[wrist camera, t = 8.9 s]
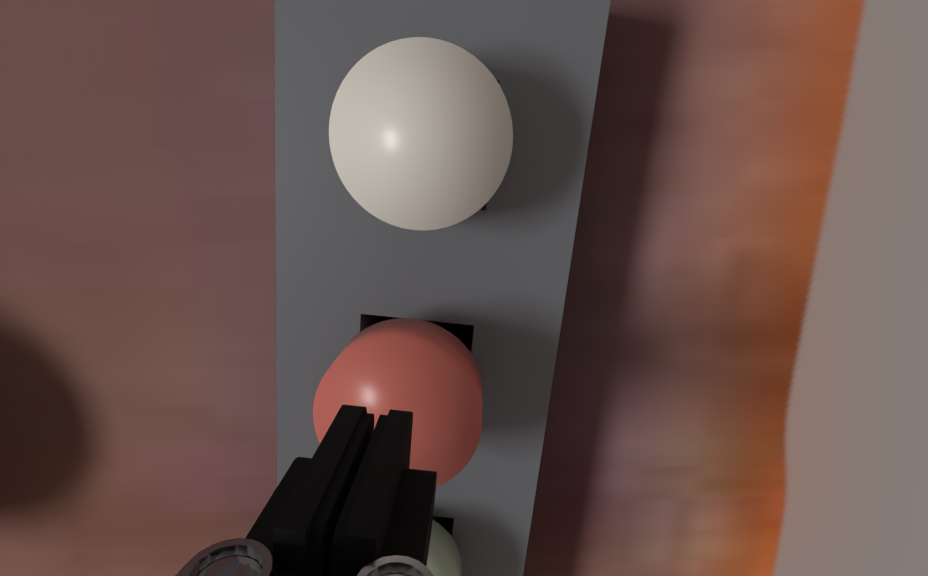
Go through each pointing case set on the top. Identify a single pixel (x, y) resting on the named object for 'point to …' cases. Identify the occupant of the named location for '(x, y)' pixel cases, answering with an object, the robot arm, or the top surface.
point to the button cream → (420, 133)
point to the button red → (410, 390)
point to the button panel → (439, 236)
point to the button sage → (443, 552)
